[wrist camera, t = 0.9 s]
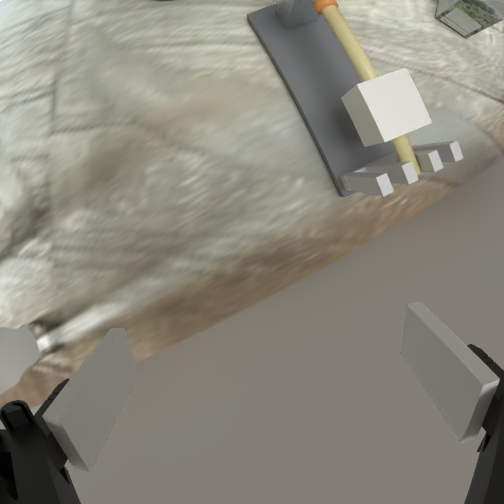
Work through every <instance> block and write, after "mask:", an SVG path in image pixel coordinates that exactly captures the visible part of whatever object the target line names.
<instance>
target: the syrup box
mask: <svg viewBox="0 0 504 504" xmlns="http://www.w3.org/2000/svg"><path fill="white" fill-rule="evenodd" d="M436 18H437V19H438V20H440V21H441V22H443V23H445V24H446V25H448V26H449V27H451V28H452V29H454V30H455V31H457V32H458V33H459V34H461V35H462V36H464V37H465V38H468V37H470V36H472V35H474V34H476V33H477V32H480V31H481V30H483V29H485V28H487V27H489V26H492V25H493V24H496V23H498V22H500V21H502V20H504V0H438V6H437V12H436Z"/></svg>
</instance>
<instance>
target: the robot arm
mask: <svg viewBox="0 0 504 504" xmlns="http://www.w3.org/2000/svg"><path fill="white" fill-rule="evenodd" d="M400 354H401V355H402V357H403V358H404V360H405V361H406V363H407V364H408V365H409V367H410V368H411V370H412V371H413V373H414V374H415V375H416V377H417V379H418V380H419V381H420V383H421V384H422V386H423V387H424V389H425V390H426V392H427V393H428V395H429V396H430V398H431V399H432V401H433V402H434V404H435V405H436V407H437V408H438V410H439V411H440V413H441V414H442V416H443V417H444V419H445V420H446V422H447V424H448V425H449V427H450V428H451V430H452V432H453V433H454V435H455V436H456V438H457V439H458V441H459V443H460V444H461V443H463V442H466V441H468V440H471V439H474V438H476V437H477V435H478V433H479V431H480V428H481V426H482V427H483V428H484V429H485V431H486V434H485V436H484V438H483V440H482V442H481V444H480V446H479V448H478V450H477V452H480V454H479V458H478V462H477V466H476V469H475V472H474V476H473V479H472V482H471V485H470V488H469V491H468V494H467V497H466V500H465V503H464V504H504V371H503V370H502V369H501V368H500V367H499V366H498V365H497V364H496V363H495V362H493V360H492V359H491V358H490V357H488V355H487V354H486V353H485V352H484V351H483V350H482V349H480V348H478V347H476V346H474V345H472V344H470V345H465V344H464V343H463V342H462V341H461V340H460V339H459V338H458V337H457V336H456V335H455V334H454V333H453V332H452V331H451V330H450V329H449V328H447V326H446V325H445V324H443V323H442V322H441V321H440V320H439V319H438V318H437V317H436V316H435V315H434V314H433V313H432V312H431V311H429V310H428V309H427V308H426V307H425V306H424V305H423V304H422V303H421V302H414V303H409V304H406V307H405V318H404V327H403V336H402V344H401V352H400ZM138 377H139V374H138V371H137V368H136V365H135V361H134V358H133V355H132V351H131V348H130V344H129V341H128V337H127V334H126V330H125V328H111V329H110V330H109V332H108V333H107V334H106V335H105V336H104V338H103V339H102V340H101V341H100V342H99V344H98V345H97V346H96V347H95V349H94V350H93V351H92V352H91V354H90V355H89V356H88V357H87V359H86V360H85V361H84V362H83V364H82V365H81V366H80V367H79V369H78V370H77V371H76V372H75V374H74V375H73V376H72V377H71V379H66V380H65V381H63V382H62V383H60V384H59V385H58V386H57V387H56V388H55V389H54V391H53V392H52V394H50V396H49V397H48V398H47V399H48V400H46V401H45V402H44V403H43V405H42V406H41V407H40V409H39V410H38V411H37V412H36V414H35V415H34V416H33V414H32V412H31V410H30V409H29V407H28V405H27V403H26V402H24V401H20V400H16V401H11V402H9V403H7V404H6V405H4V406H3V407H2V408H1V409H0V419H1V421H2V423H3V424H4V426H5V428H6V430H5V429H4V430H1V429H0V504H81V503H80V501H79V498H78V496H77V493H76V491H75V488H74V486H73V484H72V481H71V478H70V475H69V473H68V471H67V469H66V467H65V466H64V465H65V463H66V461H67V459H68V460H69V461H70V463H71V464H72V466H73V467H74V468H75V469H78V470H82V471H87V472H91V471H92V469H93V467H94V465H95V463H96V461H97V458H98V456H99V454H100V452H101V450H102V448H103V446H104V444H105V442H106V440H107V438H108V436H109V434H110V432H111V430H112V427H113V426H114V424H115V422H116V420H117V418H118V416H119V414H120V412H121V410H122V408H123V406H124V404H125V402H126V400H127V398H128V396H129V394H130V392H131V390H132V388H133V386H134V384H135V382H136V381H137V379H138Z"/></svg>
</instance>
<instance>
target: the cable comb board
mask: <svg viewBox="0 0 504 504" xmlns="http://www.w3.org/2000/svg"><path fill="white" fill-rule="evenodd" d="M247 20H248V21H249V23H250V25H251V26H252V28H253V29H254V31H255V33H256V34H257V36H258V37H259V39H260V41H261V42H262V44H263V46H264V47H265V49H266V51H267V53H268V54H269V56H270V58H271V59H272V61H273V63H274V65H275V66H276V68H277V70H278V72H279V73H280V75H281V77H282V79H283V81H284V82H285V84H286V86H287V88H288V90H289V92H290V93H291V95H292V97H293V99H294V101H295V103H296V105H297V107H298V109H299V110H300V112H301V114H302V116H303V118H304V120H305V122H306V124H307V126H308V128H309V130H310V132H311V134H312V136H313V138H314V140H315V142H316V144H317V146H318V148H319V151H320V153H321V155H322V157H323V159H324V161H325V163H326V165H327V168H328V170H329V172H330V174H331V176H332V178H333V181H334V183H335V185H336V187H337V190H338V192H339V194H340V196H341V197H346V196H348V195H350V194H352V193H354V192H356V191H358V192H363V193H368V194H373V195H378V196H382V197H384V196H386V195H388V194H390V193H392V192H394V190H393V188H392V185H391V183H399V184H411V183H413V182H415V181H417V180H418V177H417V175H419V174H421V172H436V171H438V170H440V169H442V168H443V165H442V162H457V161H459V160H461V159H463V155H462V152H461V150H460V147H459V144H458V141H449V142H441V143H432V144H424V145H417V146H411V145H410V142H409V140H408V137H407V135H406V134H404V135H401V136H399V137H397V138H394V139H392V140H390V141H387V142H385V143H380V144H375V145H371V146H366V147H364V145H363V143H362V141H361V138H360V136H359V134H358V132H357V130H356V128H355V126H354V124H353V121H352V119H351V117H350V115H349V113H348V111H347V109H346V107H345V105H344V103H343V101H342V99H341V97H343V96H344V95H345V94H346V93H347V92H348V91H350V90H351V89H352V88H353V87H354V86H355V85H357V84H359V83H362V82H365V81H368V80H371V79H374V78H376V77H378V75H377V73H376V71H375V69H374V67H373V65H372V64H371V62H370V60H369V58H368V56H367V55H366V53H365V51H364V50H363V48H362V46H361V44H360V43H359V41H358V39H357V38H356V36H355V35H354V33H353V31H352V30H351V28H350V27H349V25H348V23H347V22H346V20H345V19H344V17H343V16H342V14H341V13H340V11H339V10H338V4H337V2H336V1H335V0H276V4H275V5H272V6H269V7H266V8H263V9H260V10H258V11H255V12H252V13H250V14H247Z"/></svg>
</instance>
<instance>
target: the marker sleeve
mask: <svg viewBox="0 0 504 504" xmlns="http://www.w3.org/2000/svg"><path fill="white" fill-rule="evenodd" d="M341 99H342V101H343V103H344V105H345V107H346V109H347V111H348V113H349V115H350V117H351V119H352V121H353V124H354V126H355V128H356V130H357V132H358V134H359V136H360V138H361V141H362V143H363V145H364V147H366V146H371V145H375V144H380V143H385V142H387V141H390V140H392V139H394V138H397V137H399V136H401V135H404V134H406V133H408V132H411V131H413V130H416V129H418V128H421V127H423V126H425V125H428V124H430V123H432V121H431V119H430V117H429V114H428V112H427V110H426V108H425V105H424V103H423V101H422V99H421V97H420V95H419V93H418V91H417V88H416V86H415V84H414V82H413V80H412V78H411V76H410V74H409V73H408V71H407V69H406V68H404V69H401V70H398V71H395V72H392V73H388V74H385V75H382V76H379V77H376V78H374V79H371V80H368V81H365V82H362V83H359V84H357V85H355V86H354V87H353V88H352V89H351V90H350V91H348V92H347V93H346V94H345V95H344V96H343V97H341Z"/></svg>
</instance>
